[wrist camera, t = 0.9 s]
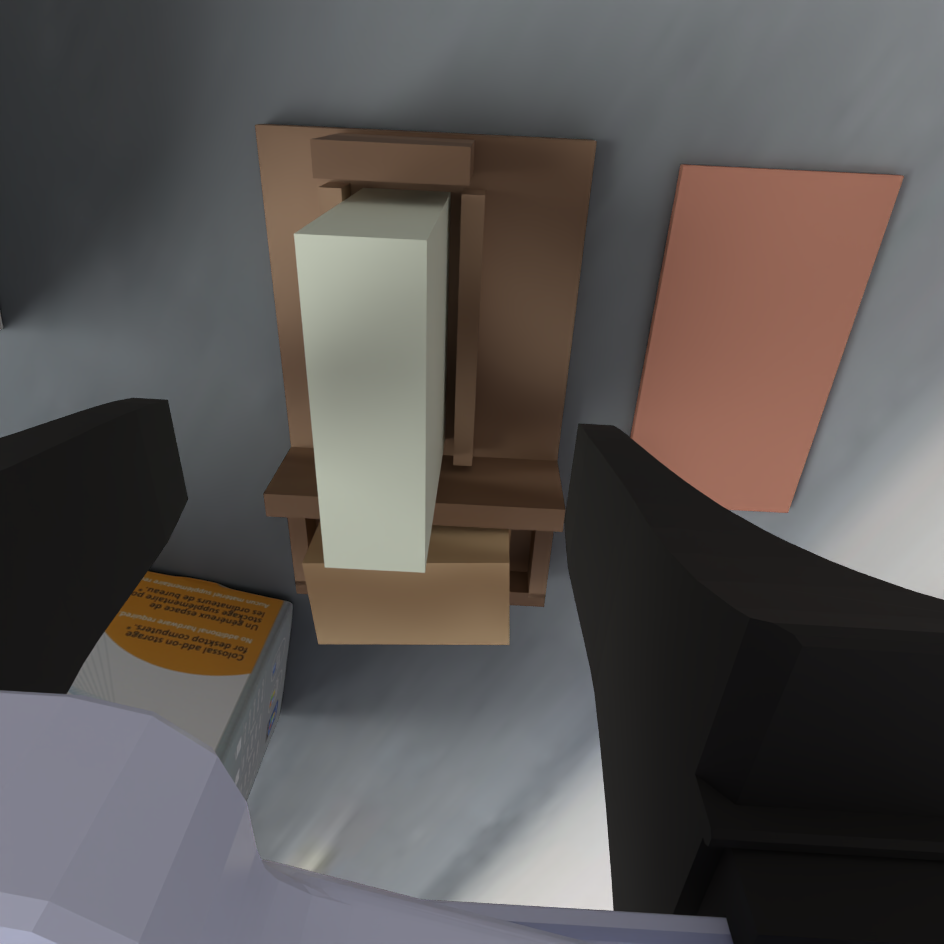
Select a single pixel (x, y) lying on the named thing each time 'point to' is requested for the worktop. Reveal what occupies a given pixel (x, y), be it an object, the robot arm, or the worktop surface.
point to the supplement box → (0, 324)
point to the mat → (754, 323)
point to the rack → (452, 316)
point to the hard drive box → (198, 664)
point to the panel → (377, 371)
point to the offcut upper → (417, 594)
